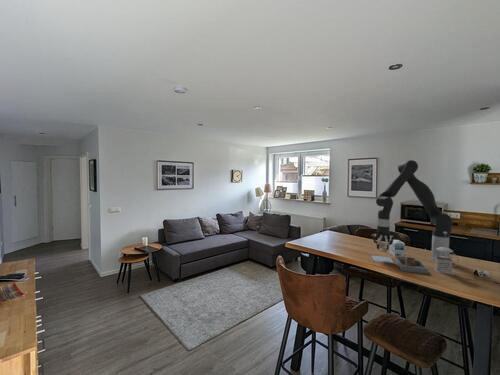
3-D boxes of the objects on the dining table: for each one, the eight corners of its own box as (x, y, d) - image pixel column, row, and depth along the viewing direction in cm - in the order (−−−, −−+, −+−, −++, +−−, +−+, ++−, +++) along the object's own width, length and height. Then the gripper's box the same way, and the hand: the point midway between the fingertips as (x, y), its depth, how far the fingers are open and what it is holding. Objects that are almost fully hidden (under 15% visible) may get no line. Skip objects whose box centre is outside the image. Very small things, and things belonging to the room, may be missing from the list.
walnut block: (412, 265, 154) (413, 256, 154) (414, 267, 150) (415, 258, 150) (404, 264, 156) (404, 255, 155) (406, 266, 151) (406, 257, 151)
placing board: (390, 258, 168) (390, 257, 168) (393, 263, 157) (393, 263, 157) (371, 256, 173) (371, 255, 173) (373, 261, 162) (373, 260, 162)
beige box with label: (385, 250, 166) (385, 241, 166) (386, 252, 162) (387, 243, 162) (378, 249, 168) (378, 241, 167) (379, 251, 163) (379, 242, 163)
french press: (433, 267, 151) (435, 229, 150) (457, 272, 144) (459, 231, 143) (432, 272, 144) (434, 231, 143) (458, 277, 136) (460, 234, 135)
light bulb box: (404, 258, 169) (405, 243, 168) (394, 257, 170) (394, 242, 170) (398, 253, 179) (399, 239, 179) (388, 253, 181) (389, 239, 180)
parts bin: (419, 265, 154) (420, 260, 154) (428, 274, 140) (428, 268, 140) (395, 262, 159) (396, 257, 159) (401, 271, 145) (401, 265, 145)
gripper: (394, 225, 165) (393, 249, 166) (371, 223, 170) (370, 247, 171) (396, 227, 158) (395, 252, 159) (372, 225, 163) (371, 249, 164)
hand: (382, 249), depth 165 cm, fingers closed on beige box with label, 4 cm apart
